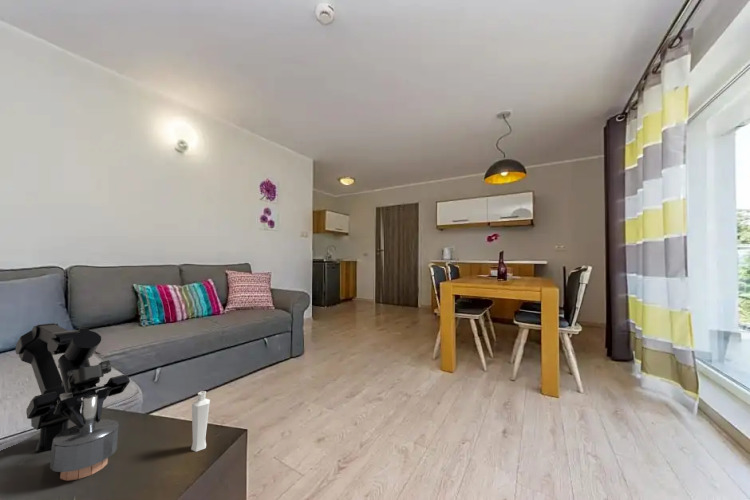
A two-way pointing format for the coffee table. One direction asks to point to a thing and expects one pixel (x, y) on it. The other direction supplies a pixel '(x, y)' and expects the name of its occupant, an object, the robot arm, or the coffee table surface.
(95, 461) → the grey stemmed oval block
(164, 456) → the coffee table surface
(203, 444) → the perfume bottle
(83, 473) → the terracotta bowl
